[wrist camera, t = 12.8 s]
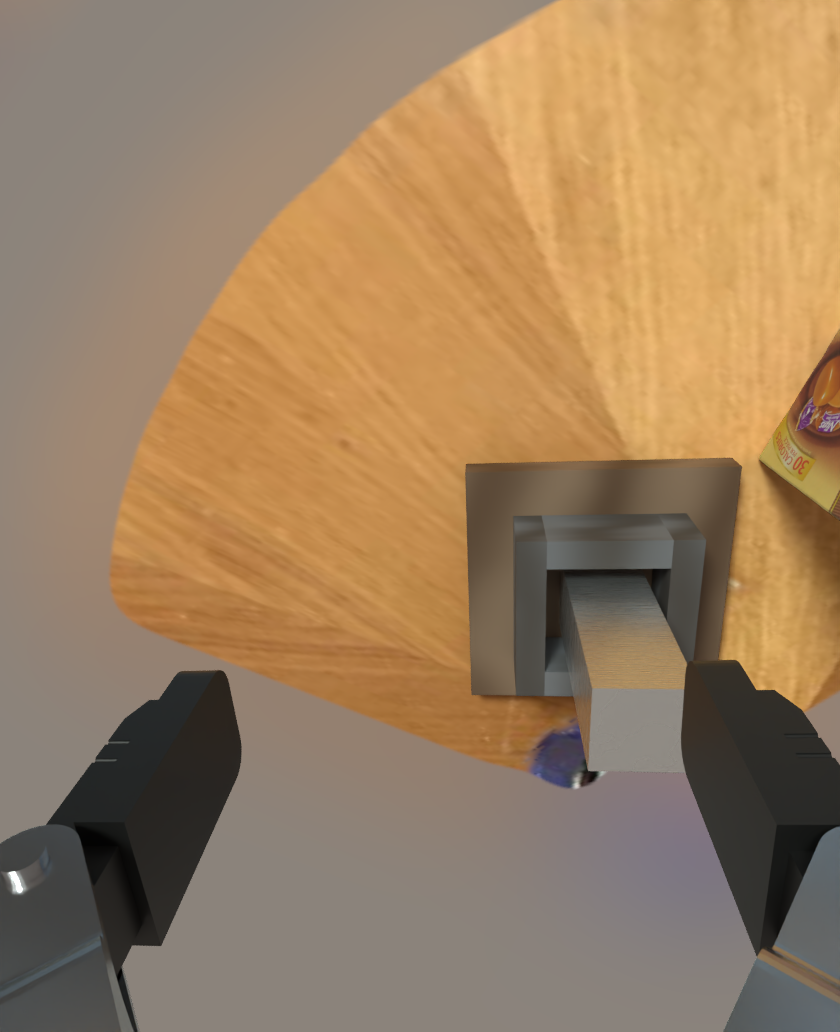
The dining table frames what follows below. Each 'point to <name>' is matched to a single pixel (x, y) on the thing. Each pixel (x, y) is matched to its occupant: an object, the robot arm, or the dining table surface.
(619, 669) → the square grey peg
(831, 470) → the candy box
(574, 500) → the square peg hole frame
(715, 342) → the dining table surface
